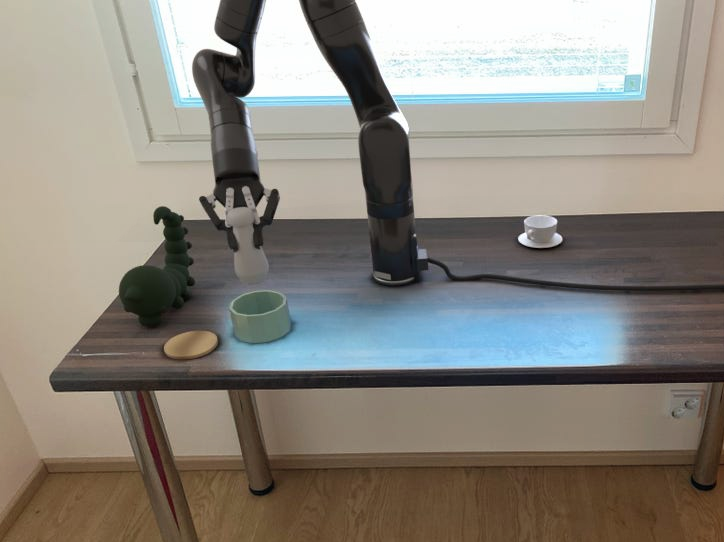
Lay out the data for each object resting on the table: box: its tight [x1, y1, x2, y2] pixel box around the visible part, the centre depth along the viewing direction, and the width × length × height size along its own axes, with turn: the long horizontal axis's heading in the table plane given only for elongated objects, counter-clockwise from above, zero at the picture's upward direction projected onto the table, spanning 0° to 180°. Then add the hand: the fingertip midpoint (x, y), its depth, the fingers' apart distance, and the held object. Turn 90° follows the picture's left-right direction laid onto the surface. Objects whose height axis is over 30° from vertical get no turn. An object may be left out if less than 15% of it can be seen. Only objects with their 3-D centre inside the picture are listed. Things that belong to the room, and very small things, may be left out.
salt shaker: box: [227, 207, 270, 286], centre depth 127 cm, size 6×6×13 cm
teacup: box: [517, 214, 563, 249], centre depth 166 cm, size 10×10×5 cm
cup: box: [228, 289, 292, 344], centre depth 134 cm, size 10×10×6 cm
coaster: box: [163, 330, 219, 361], centre depth 131 cm, size 9×9×1 cm
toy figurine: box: [118, 205, 196, 328], centre depth 138 cm, size 9×19×25 cm
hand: (246, 248), depth 125 cm, fingers closed on salt shaker, 3 cm apart
